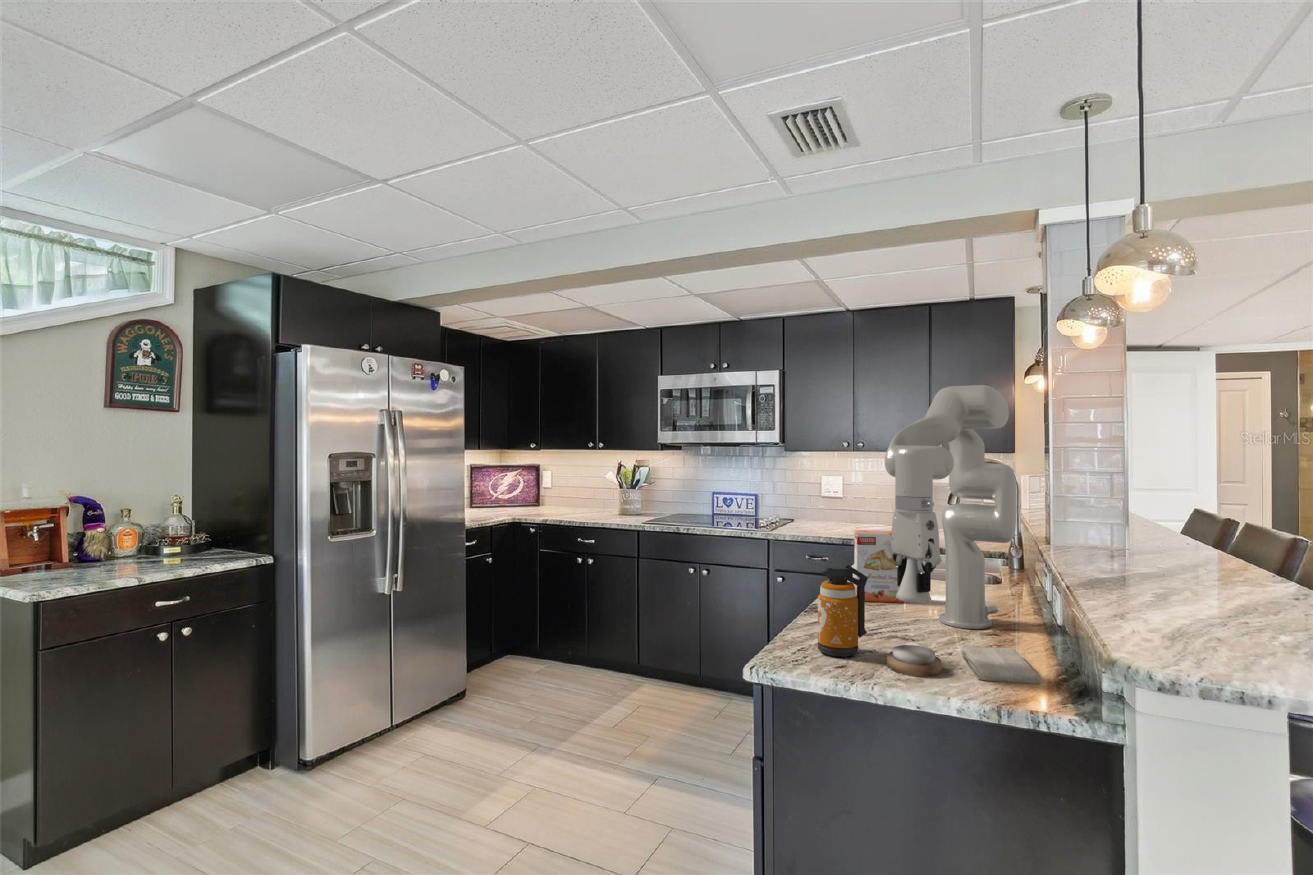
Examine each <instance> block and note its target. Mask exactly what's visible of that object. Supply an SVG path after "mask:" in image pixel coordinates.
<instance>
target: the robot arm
mask: <svg viewBox="0 0 1313 875" xmlns="http://www.w3.org/2000/svg"><path fill="white" fill-rule="evenodd" d="M1008 404H1009V403H1008V402H1007V400H1006V398H1005V397H1004V395H1002V393H1001V392H999V391H998V389H996V388H994V387H993V386H989V385H985V384H978V385H977V384H973V385H970V384H969V385H952V386H951V385H950V386H946V387H943V388H941V389H940V390H938V391H937V393H936V394H935V395H934V397H933V399H932V401H931V403H930V406H929V408H928V409H927V410H926V413H925V415H924V417H923V418H920V419H918V420H916V421H914V422H912V423H910V424H909V425H907V426H905V427H903V428H901V429H900V430H899V431H897V433H896V434H895V435H894V436H893V438H892V439H891V441H890V443H889V445H888V448H887V450H886V453H885V457H884V467H885V471H886V473H887V474H888V475H890V476H891V477H893V478H894V479H895V480H894V481H895V482H894V483H895V485H894V486H895V487H894V488H895V493H894V495H895V496H894V497H895V499H894V500H895V502H894V506H895V509H894V511H893V516H892V522H891V531H892V534H891V545H890V546H889V548H888V551H889V552H890V554H891V555H892V557H893V559H894V561H895V566H896V567H897V585H898V586H899V587H900V585H901V582H902V579H903V576H904V574H905V571H906V565H907V557H910V558H914V559H916V560H917V565H918V569H919V573H917V592H919V593H922V592H929V593H930V592H931V590H932V589H931V585H932V584H931V580H932V579H931V577H932V576H931V574H933V573H934V570H935V569H936V567H937V566H939V564H940V563H942V562H943V561H942V560H943V559H942V556H941V555H940V553H941V552H940V549H941V548H940V532H939V531H940V530H939V524H938V518H937V515H936V512H934V509H933V508H934V506H935V502H934V500H933V499H934V497H933V494H934V492H933V491H934V490H933V489H934V482H933V481H934V480H935V481H936V480H937V481H938V480H943V479H945V478H948V485H949V491H950V493H951V495H953V496H954V497H956V498H961V499H968V500H969V499H972V500H990V501H993V502H994V503H995V505H992V504H991V505H990V504H989V505H988V504H979V503H978V504H977V503H963V502H962V503H952V504H950V505H947V506H946V507H945V508H944V509H943V511H942V514H941V523H942V524H941V525H942V531H943V537H944V547H945V548H944V549H945V612H942V613H941V614H939V616H938V619H939V621H940V622H941V623H942V624H944V625H947V626H951V627H954V628H960V629H968V630H969V629H971V630H980V629H981V630H982V629H988V628H990V627H991V626H992V620H991V619H990V618H988V616H989V615H992V614H997V613H999V612H998V611H999V609H998V607H997V606H995V605H993V606H988V605H986V600H985V599H986V592H985V591H986V588H985V587H986V559H985V555H984V553H983V551H982V550H981V549H980V547H979V546H978V544H977V543H976V542H986V543H999V544H1000V543H1001V544H1006V543H1010V542H1012V541H1013V539H1014V537H1015V534H1016V527H1017V526H1016V525H1017V480H1016V479H1017V478H1016V474H1015V470H1014V469H1013V468H1012V467H1011V466H1010V465H1008V464H1004V463H989V462H988V463H987V462H986V461H985V460H986V459H985V454H986V453H985V448H986V446H985V443H984V441H983V439H982V437H980V435H979V434H978V433H977V431H975V430H976V429H977V430H980V429H983V430H984V429H985V430H988V429H989V430H991V429H992V430H997V429H1001V428H1003V427H1005V425H1006V424H1007V422H1008V421H1009V416H1010V410H1009V405H1008ZM946 444H948V446H949V449H948V448H946V447H944V446H943V445H946ZM924 562H925V564H924Z"/></svg>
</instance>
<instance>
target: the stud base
mask: <svg viewBox="0 0 1313 875" xmlns="http://www.w3.org/2000/svg"><path fill="white" fill-rule="evenodd" d="M887 666H888V667H887ZM886 667H887V668H888V669H889V668H891V669H892V670H893V672H894V671H895V672H894V673H897V674H900V673H902V674H901V675H904V676H909V677H916V678H917V677H918V678H919V677H920V678H928V677H929V678H930V677H935V676H938V675H940V674H941V673H942V660H941V658H939V657H938V656H936V652H935V651H934V650H932V649H930V648H927V647H925V646H919V645H913V644H904V645H901V644H900V645H897V646H894V647H893V648H892V651H889V652H888V653H886ZM891 669H890V670H891ZM892 670H891V671H892Z"/></svg>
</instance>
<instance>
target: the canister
mask: <svg viewBox="0 0 1313 875" xmlns="http://www.w3.org/2000/svg"><path fill="white" fill-rule="evenodd" d="M819 572H820V573H821V574H822V575H823V576H825V577H826V578H827V579H828V580H824V581H822V582H821V585H820V588H819V589H820V590H819V593H820V594H818V595H817V649H818V650H819V651H820V652H822V653H824V654H825V655H828V656H831V657H838V658H846V657H851V656H854V655H856V654H857V653H858V652H859V638H862V637H863V636H864V635H866V634H868V632H867V631H866V628H865V626H866V625H865V620H866V619H865V617H866V616H865V615H866V614H865V610H866V608H865V607H866V606H865V603H866V601H865V585H866V582H867V579H868V577H866V576H865V575H864V574H862V573H860V572H859V571H857V570H856V569H854V567H853V566H851V565H849V564H847V565H845V566H829V565H826V566H825V567H824V568H822V569H820V570H819ZM854 574H855V575H856V576H858V577H859V578H860V579H859V580H858V579H856V578H854ZM854 584H855V585H857V597H856V588H855V586H854Z"/></svg>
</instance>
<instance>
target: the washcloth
mask: <svg viewBox="0 0 1313 875" xmlns="http://www.w3.org/2000/svg"><path fill="white" fill-rule="evenodd" d="M960 652H961V655H962V656H961V657H962V658H963V661H964V662H965V663H966V665H967V666H968V668H969V669H970V670H971V672H972V673H973V674H974V677H976V679H977V680H979V681H980V680H981V681H985V682H987V681H988V682H1006V683H1014V684H1015V683H1016V684H1028V685H1029V684H1033V685H1037V684H1041V681H1040V677H1039V674H1038V673H1037V672H1036V671H1035V670H1034V669H1033V668H1032V667H1031V665H1029V663H1028V662H1027V661H1026V660H1025V659H1024V658H1023V657H1022V656H1021V654H1019V653H1018V651H1017V650H1016V649H1014V648H1011V647H1000V648H999V647H989V646H988V647H987V646H982V645H981V646H980V645H962V646H961V651H960Z"/></svg>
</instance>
